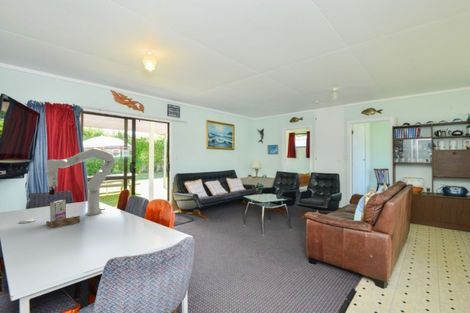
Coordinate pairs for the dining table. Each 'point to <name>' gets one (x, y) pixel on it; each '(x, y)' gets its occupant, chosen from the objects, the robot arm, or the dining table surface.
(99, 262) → the dining table surface
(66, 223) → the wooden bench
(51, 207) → the candy bar box
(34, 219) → the white dome
